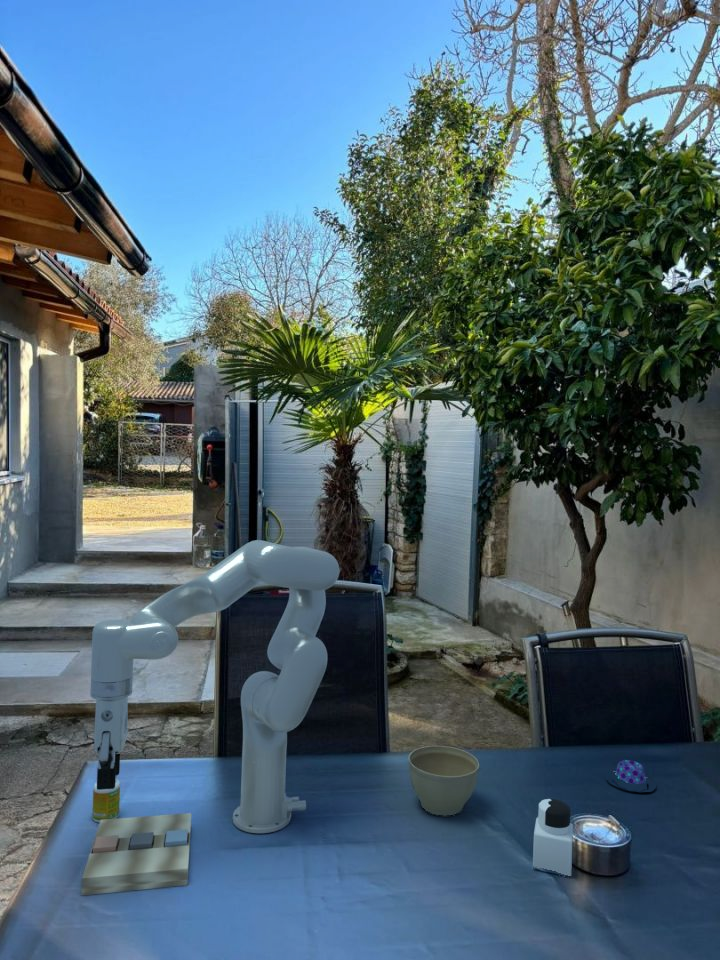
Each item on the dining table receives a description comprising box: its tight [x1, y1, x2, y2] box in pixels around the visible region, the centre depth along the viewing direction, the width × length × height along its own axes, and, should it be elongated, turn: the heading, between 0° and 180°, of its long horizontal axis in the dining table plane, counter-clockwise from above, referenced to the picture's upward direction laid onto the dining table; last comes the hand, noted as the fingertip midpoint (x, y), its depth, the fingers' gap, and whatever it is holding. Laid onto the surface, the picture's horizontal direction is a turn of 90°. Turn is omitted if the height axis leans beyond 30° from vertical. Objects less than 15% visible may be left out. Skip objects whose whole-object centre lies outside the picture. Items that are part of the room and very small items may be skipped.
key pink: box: [93, 835, 119, 853], centre depth 125 cm, size 4×4×2 cm
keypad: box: [80, 812, 192, 896], centre depth 126 cm, size 18×20×3 cm
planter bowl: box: [407, 745, 480, 816], centre depth 150 cm, size 16×16×11 cm
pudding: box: [615, 759, 647, 784], centre depth 166 cm, size 12×12×5 cm
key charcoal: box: [130, 832, 154, 850], centre depth 126 cm, size 4×4×2 cm
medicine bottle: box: [532, 798, 574, 877], centre depth 129 cm, size 7×7×12 cm
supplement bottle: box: [91, 775, 121, 824], centre depth 141 cm, size 5×5×10 cm
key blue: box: [165, 829, 188, 847], centre depth 128 cm, size 4×4×2 cm
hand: (108, 780), depth 125 cm, fingers open, 4 cm apart
